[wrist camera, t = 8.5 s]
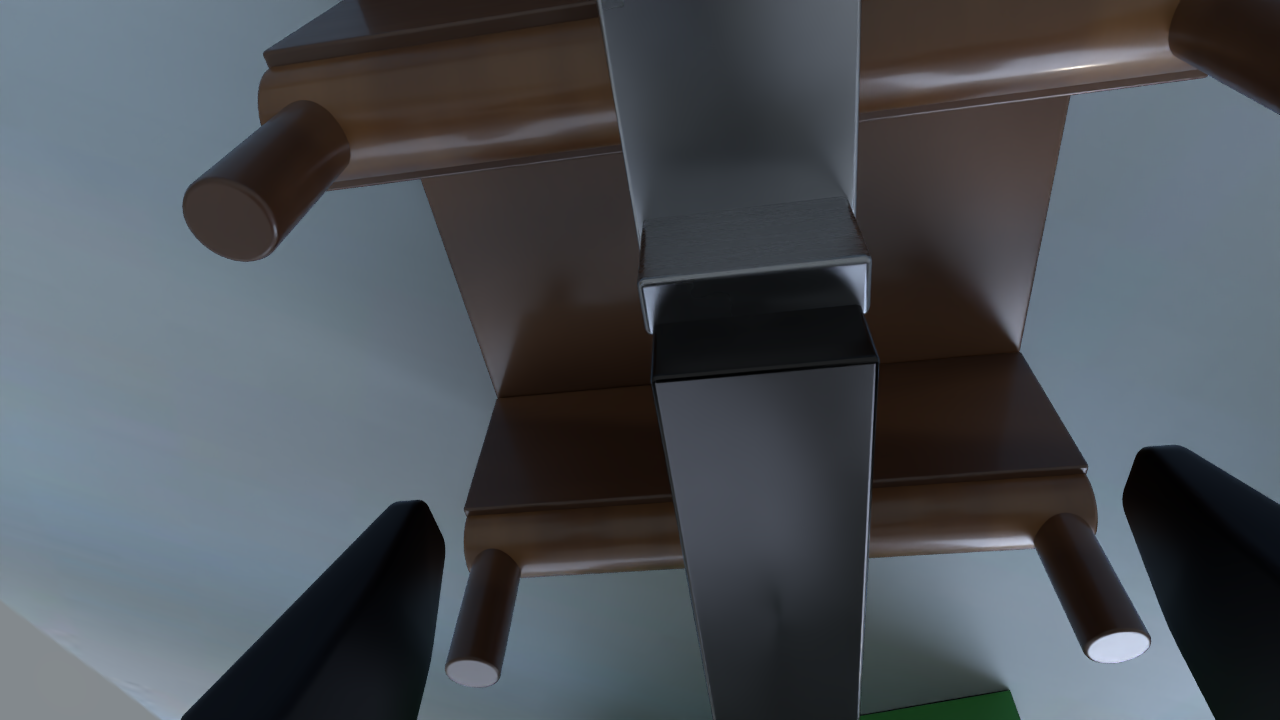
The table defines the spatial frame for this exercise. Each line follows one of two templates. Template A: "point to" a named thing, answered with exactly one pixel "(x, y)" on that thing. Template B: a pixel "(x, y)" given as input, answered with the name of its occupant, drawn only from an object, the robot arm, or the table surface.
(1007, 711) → the hardback book
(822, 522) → the kitchen knife
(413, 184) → the table surface
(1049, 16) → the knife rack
